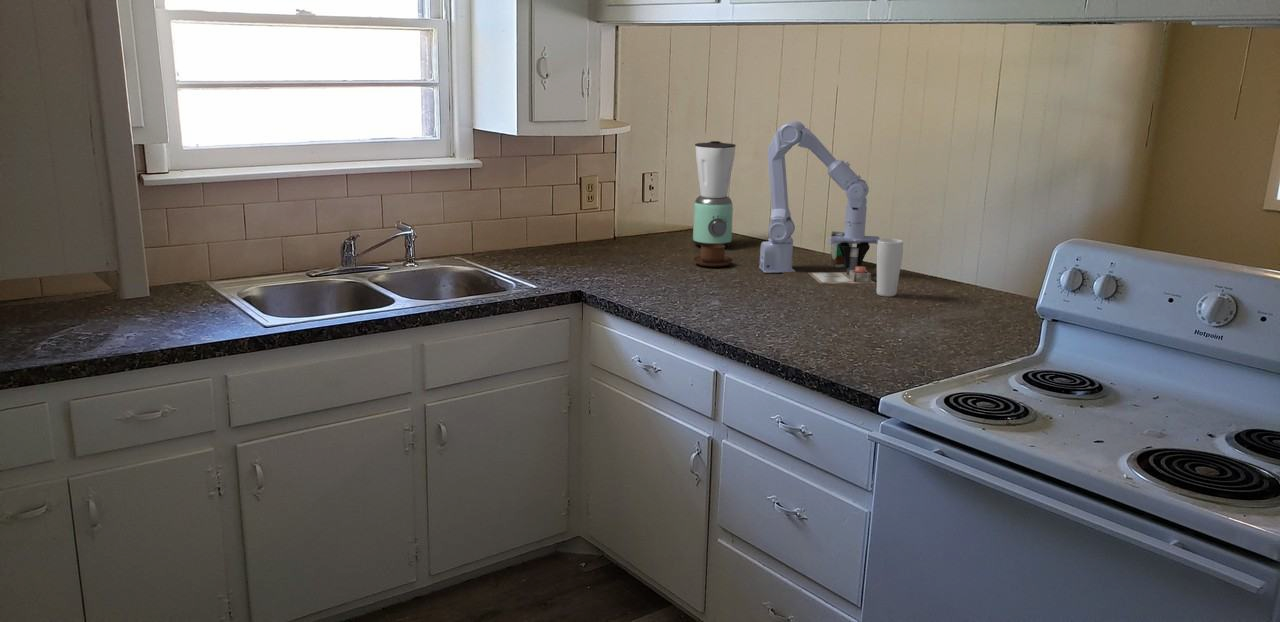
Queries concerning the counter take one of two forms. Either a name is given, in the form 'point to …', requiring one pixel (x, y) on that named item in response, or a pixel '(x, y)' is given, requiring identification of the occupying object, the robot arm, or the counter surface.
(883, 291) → the drinking glass
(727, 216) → the mint green blender
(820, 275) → the control panel
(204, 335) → the counter surface
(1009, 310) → the counter surface
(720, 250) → the cup and saucer
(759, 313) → the counter surface
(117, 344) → the counter surface
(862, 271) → the button
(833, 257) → the food container
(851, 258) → the cylinder
